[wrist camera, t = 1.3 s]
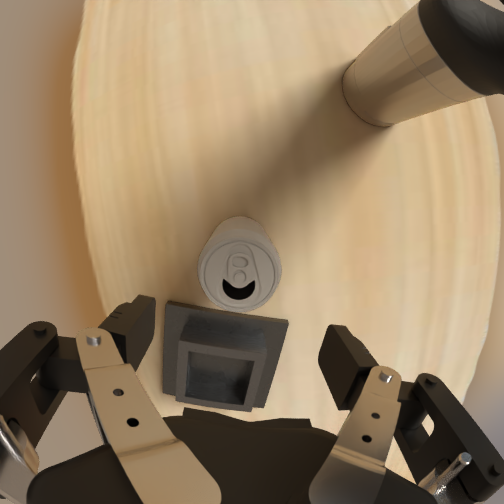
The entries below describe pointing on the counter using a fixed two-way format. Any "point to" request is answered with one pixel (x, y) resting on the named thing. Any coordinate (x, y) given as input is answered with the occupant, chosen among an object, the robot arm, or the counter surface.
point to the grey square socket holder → (220, 356)
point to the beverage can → (239, 265)
